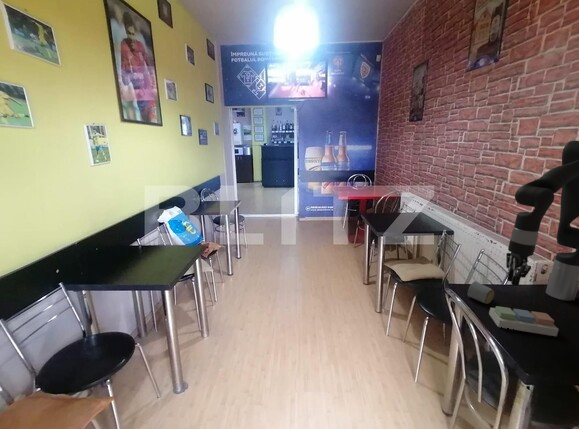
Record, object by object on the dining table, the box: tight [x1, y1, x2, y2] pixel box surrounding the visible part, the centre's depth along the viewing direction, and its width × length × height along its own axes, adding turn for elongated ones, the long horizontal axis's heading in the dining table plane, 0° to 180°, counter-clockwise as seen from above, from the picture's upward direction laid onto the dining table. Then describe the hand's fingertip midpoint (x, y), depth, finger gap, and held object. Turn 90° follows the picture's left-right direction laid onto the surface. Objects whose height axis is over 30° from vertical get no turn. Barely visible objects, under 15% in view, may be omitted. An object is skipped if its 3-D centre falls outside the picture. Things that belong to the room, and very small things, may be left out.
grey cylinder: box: [467, 281, 495, 305], centre depth 130 cm, size 11×8×8 cm
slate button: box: [512, 308, 535, 323], centre depth 112 cm, size 5×5×3 cm
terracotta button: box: [530, 311, 555, 326], centre depth 111 cm, size 5×5×3 cm
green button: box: [494, 305, 516, 320], centre depth 114 cm, size 5×5×3 cm
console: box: [488, 307, 560, 337], centre depth 113 cm, size 19×9×3 cm, turn 75°
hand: (512, 282), depth 110 cm, fingers open, 3 cm apart
